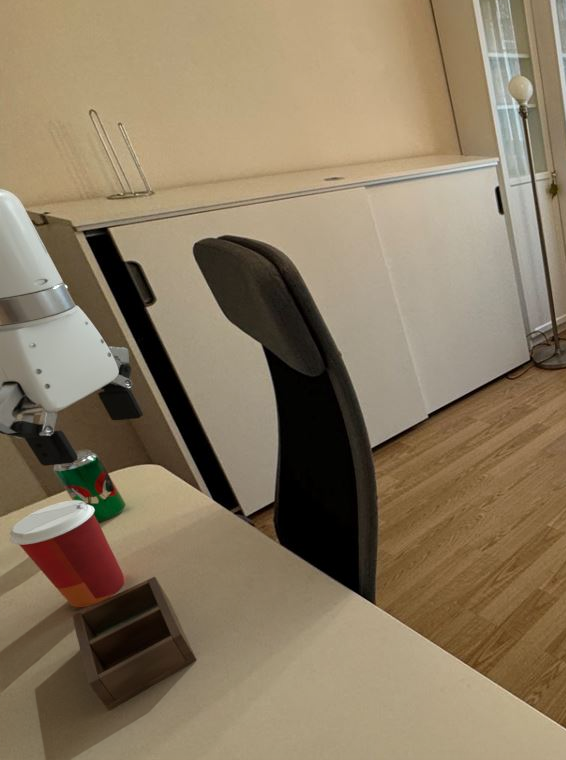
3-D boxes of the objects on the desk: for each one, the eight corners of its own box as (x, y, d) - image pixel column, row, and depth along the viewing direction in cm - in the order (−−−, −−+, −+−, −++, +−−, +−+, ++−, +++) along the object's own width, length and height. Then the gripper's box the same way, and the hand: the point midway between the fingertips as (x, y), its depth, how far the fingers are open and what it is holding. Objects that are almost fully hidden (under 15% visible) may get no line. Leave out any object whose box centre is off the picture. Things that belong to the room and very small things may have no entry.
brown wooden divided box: (108, 711, 65) (88, 684, 63) (89, 641, 73) (71, 615, 71) (197, 660, 70) (181, 634, 68) (169, 601, 79) (154, 576, 77)
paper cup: (135, 563, 86) (91, 490, 80) (135, 591, 80) (88, 515, 75) (61, 592, 81) (8, 517, 75) (56, 624, 76) (-1, 546, 70)
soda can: (123, 500, 99) (91, 444, 94) (130, 511, 97) (97, 454, 92) (83, 516, 96) (47, 459, 91) (89, 528, 93) (52, 470, 88)
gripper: (53, 285, 67) (118, 406, 74) (-115, 340, 52) (-13, 488, 59) (124, 280, 68) (181, 401, 75) (-20, 334, 53) (70, 479, 60)
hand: (96, 439), depth 67 cm, fingers open, 9 cm apart
